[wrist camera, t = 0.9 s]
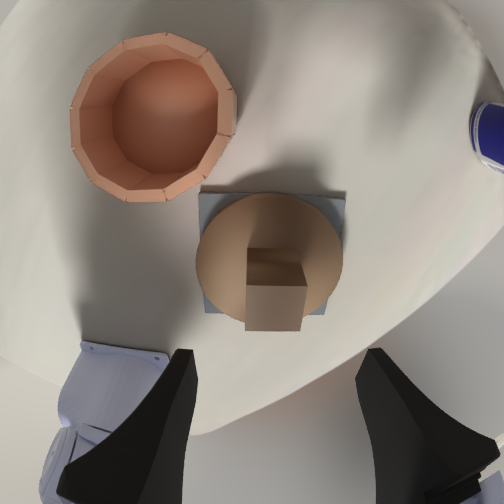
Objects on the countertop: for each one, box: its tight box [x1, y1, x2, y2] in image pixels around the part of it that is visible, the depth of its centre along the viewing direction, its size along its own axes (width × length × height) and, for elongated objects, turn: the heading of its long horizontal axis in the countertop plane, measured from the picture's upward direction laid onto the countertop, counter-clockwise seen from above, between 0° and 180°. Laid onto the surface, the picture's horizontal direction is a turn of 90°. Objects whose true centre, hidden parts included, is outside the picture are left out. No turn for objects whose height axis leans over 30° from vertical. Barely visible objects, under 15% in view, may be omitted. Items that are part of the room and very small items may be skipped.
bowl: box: [70, 32, 237, 202], centre depth 13 cm, size 8×8×4 cm
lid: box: [196, 192, 343, 331], centre depth 16 cm, size 9×9×5 cm
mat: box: [198, 192, 346, 315], centre depth 19 cm, size 9×9×1 cm
